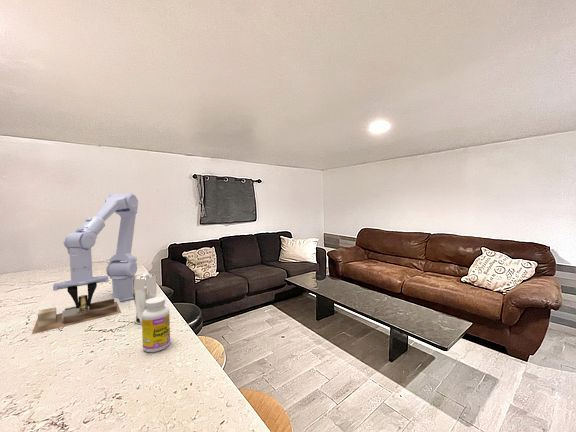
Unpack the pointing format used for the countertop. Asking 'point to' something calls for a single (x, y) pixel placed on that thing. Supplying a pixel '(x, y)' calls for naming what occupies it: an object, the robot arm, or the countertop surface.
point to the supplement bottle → (155, 325)
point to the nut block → (47, 317)
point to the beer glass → (143, 293)
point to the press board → (82, 315)
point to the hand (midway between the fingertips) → (83, 306)
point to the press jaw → (82, 308)
